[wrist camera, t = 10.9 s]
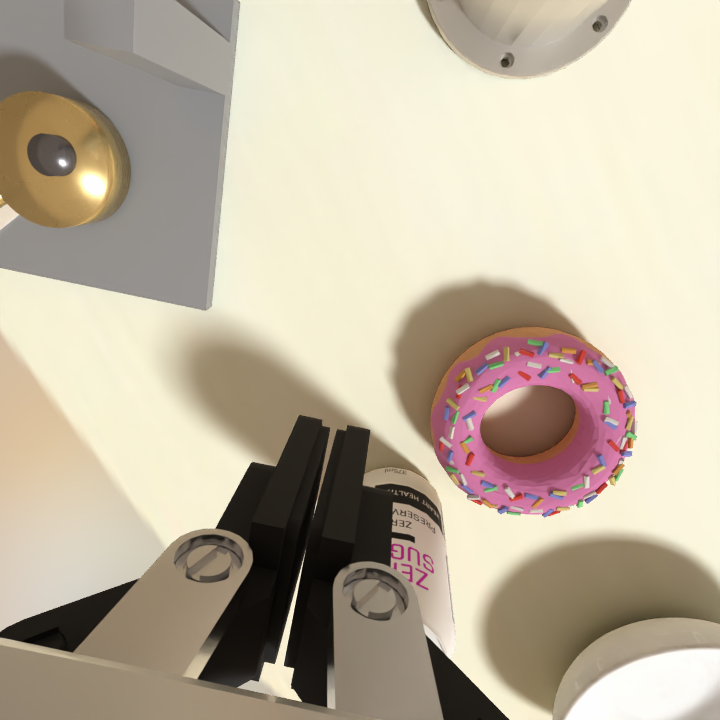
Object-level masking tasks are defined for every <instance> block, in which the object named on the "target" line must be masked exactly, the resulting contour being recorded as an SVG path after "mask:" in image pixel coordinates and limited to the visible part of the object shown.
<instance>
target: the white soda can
mask: <svg viewBox="0 0 720 720" xmlns="http://www.w3.org/2000/svg"><path fill="white" fill-rule="evenodd" d="M363 485H364V486H369V487H374V488H378V489H383V490H388V491H392V492H393V517H392V545H391V568H393V569H395V570H397V571H398V572H399V573H401V574H402V575H403V576H405V577H406V578H407V580H408V581H409V582H410V583H411V585H412V586H413V588H414V590H415V593H416V595H417V598H418V603H419V607H420V612H421V617H422V621H423V626H424V631H425V634H426V635H427V636H428V637H429V638H430V639H431V640H432V641H433V642H434V643H435V644H436V645H437V646H438V647H439V648H440V650H441V651H442V652H443V653H444V654H445V655H446V656H447V657H448V658H449V659H450V658H451V656H452V654H453V652H454V651H455V632H456V631H455V622H454V613H453V604H452V595H451V586H450V577H449V568H448V559H447V550H446V541H445V532H444V524H443V515H442V506H441V502H440V499H439V497H438V495H437V492H436V490H435V489H434V488H433V487H432V485H431V484H430V483H429V482H428V481H427V480H426V479H425V478H424V477H422V476H420V475H418V474H416V473H414V472H412V471H410V470H406V469H400V468H394V467H388V468H381V469H374V470H372V471H370V472H368V473H366V474H364V479H363Z"/></svg>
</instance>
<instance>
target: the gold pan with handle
mask: <svg viewBox="0 0 720 720" xmlns="http://www.w3.org/2000/svg"><path fill="white" fill-rule="evenodd" d="M130 182H131V164H130V158H129V154H128V151H127V148H126V145H125V143H124V141H123V139H122V137H121V135H120V133H119V132H118V130H117V129H116V127H115V126H114V125H113V124H112V122H111V121H110V120H109V119H108V118H107V117H106V116H105V115H104V114H102V113H101V112H100V111H99V110H97V109H96V108H94V107H92V106H91V105H89V104H87V103H84V102H81V101H79V100H75V99H70V98H66V97H62V96H58V95H54V94H49V93H45V92H41V91H24V92H20V93H16V94H14V95H11V96H9V97H8V98H6V99H5V100H3V101H2V102H1V103H0V207H2V206H4V205H6V204H8V205H9V206H10V207H11V208H12V209H13V210H14V211H15V212H17V213H18V214H19V215H21V216H22V217H24V218H25V219H27V220H29V221H31V222H33V223H36V224H38V225H41V226H46V227H51V228H65V227H72V226H79V225H86V224H92V223H97V222H100V221H103V220H105V219H107V218H109V217H110V216H111V215H113V214H114V213H115V212H116V211H117V210H118V209H119V208H120V207H121V205H122V204H123V202H124V200H125V198H126V196H127V194H128V191H129V187H130Z"/></svg>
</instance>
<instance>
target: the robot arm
mask: <svg viewBox="0 0 720 720" xmlns="http://www.w3.org/2000/svg"><path fill="white" fill-rule="evenodd" d="M630 2H631V0H440V1H439V0H427V3H428V6H429V9H430V12H431V16H432V19H433V21H434V22H435V24H436V26H437V28H438V30H439V32H440V34H441V36H442V37H443V39H444V40H445V41H446V42H447V44H448V45H449V46H450V47H451V49H452V50H453V51H454V52H455V53H456V54H457V55H458V56H459V57H461V58H462V59H463V60H464V61H466V62H467V63H468V64H469V65H471V66H473V67H475V68H477V69H479V70H481V71H483V72H485V73H487V74H490V75H494V76H498V77H502V78H507V79H529V78H534V77H540V76H545V75H548V74H550V73H553V72H556V71H558V70H561V69H564V68H565V67H567V66H569V65H570V64H572V63H574V62H576V61H577V60H579V59H580V58H582V57H583V56H585V55H586V54H587V53H588V52H590V51H591V50H592V49H594V48H595V47H596V46H597V45H598V44H599V43H600V42H601V41H602V40H603V39H604V38H605V37H606V36H607V35H608V34H609V33H610V32H611V31H612V30H613V28H614V27H615V26H616V24H617V23H618V21H619V20H620V19H621V17H622V16H623V14H624V13H625V11H626V10H627V8H628V6H629V4H630ZM593 23H596V24H598V26H599V30H598V31H594V29H593V27H592V25H593ZM502 59H507V60H508V66H507V67H503V66H502V65H501V60H502ZM329 432H330V428H329V427H324V426H322V420H321V419H316V418H311V417H306V416H302V415H299V417H298V419H297V421H296V424H295V426H294V428H293V430H292V433H291V435H290V437H289V439H288V442H287V444H286V446H285V448H284V450H283V453H282V455H281V457H280V459H279V462H278V464H277V466H276V467H274V466H270V465H265V464H260V463H255V462H252V463H251V464H250V466H249V468H248V469H247V471H246V473H245V475H244V477H243V479H242V480H241V482H240V484H239V486H238V488H237V490H236V492H235V493H234V495H233V497H232V499H231V501H230V503H229V504H228V506H227V508H226V510H225V512H224V514H223V516H222V517H221V519H220V521H219V523H218V525H217V527H216V528H215V529H201V530H196V531H191V532H189V533H187V534H185V535H183V536H180V537H179V538H178V539H177V540H175V541H174V542H173V543H172V544H171V545H170V546H169V547H168V548H167V549H166V550H165V551H164V552H163V553H162V555H161V556H160V557H159V558H158V559H157V560H156V561H155V562H154V563H153V565H152V566H151V567H150V568H149V569H148V570H147V571H146V572H145V573H144V575H143V576H142V577H141V578H139V579H136V580H134V581H131V582H128V583H125V584H122V585H120V586H117V587H114V588H111V589H108V590H105V591H103V592H100V593H97V594H94V595H91V596H89V597H86V598H83V599H80V600H78V601H75V602H72V603H69V604H66V605H64V606H60V607H58V608H55V609H52V610H49V611H46V612H44V613H41V614H38V615H36V616H32V617H30V618H27V619H24V620H22V621H20V622H17V623H15V624H13V625H11V626H9V627H7V628H5V629H4V630H2V631H1V632H0V720H509V719H508V718H507V717H506V716H505V715H504V714H503V713H502V712H501V711H500V710H499V709H498V708H497V707H496V706H495V705H494V704H493V703H492V702H491V701H490V700H489V699H488V698H487V697H486V696H485V694H484V693H483V692H482V691H481V690H480V689H479V688H478V687H477V686H476V685H475V684H474V683H473V682H472V681H471V680H470V679H469V678H468V677H467V676H466V675H465V674H464V673H463V672H462V671H461V670H460V669H459V668H458V667H457V666H456V665H455V664H454V663H453V662H452V661H451V660H450V659H449V658H448V657H447V656H446V655H445V654H444V653H443V652H442V651H441V650H440V648H439V647H438V646H437V645H436V644H435V643H434V642H433V641H432V640H431V639H430V638H429V637H428V636H427V635H426V634H425V631H424V626H423V621H422V617H421V612H420V607H419V603H418V598H417V595H416V593H415V590H414V588H413V586H412V585H411V583H410V582H409V581H408V580H407V578H406V577H405V576H403V575H402V574H401V573H399V572H398V571H397V570H395V569H393V568H391V545H392V517H393V492H392V491H388V490H383V489H378V488H374V487H369V486H364V485H363V479H364V472H365V464H366V457H367V450H368V443H369V435H370V430H368V429H363V428H359V427H354V426H349V425H348V426H347V430H346V431H343V430H338V429H337V432H336V436H335V439H334V443H333V447H332V450H331V454H330V458H329V462H328V465H327V469H326V473H325V476H324V480H323V484H322V488H321V491H320V495H319V499H318V502H317V506H316V510H315V505H316V500H317V495H318V490H319V484H320V479H321V474H322V469H323V463H324V458H325V453H326V448H327V443H328V437H329ZM314 511H315V513H314ZM313 516H314V517H313ZM306 546H307V547H306ZM305 550H306V552H305ZM304 554H305V557H304ZM303 558H304V562H303V567H302V573H301V578H300V583H299V588H298V594H297V599H296V604H295V609H294V615H293V620H292V625H291V630H290V636H289V641H288V646H287V651H286V657H285V662H284V666H286V667H291V668H294V673H293V678H292V683H291V689H294V690H295V692H296V693H297V695H298V696H299V698H300V699H301V700H302V702H299V701H295V700H290V699H286V698H281V697H277V696H271V695H267V694H263V693H258V692H254V691H249V690H244V689H239V688H237V687H239V686H241V685H242V684H244V683H246V682H248V681H250V680H254V681H258V682H259V678H260V675H261V672H262V668H263V665H264V662H268V663H272V664H275V662H276V658H277V655H278V651H279V647H280V643H281V640H282V636H283V632H284V629H285V625H286V621H287V617H288V614H289V610H290V606H291V602H292V599H293V595H294V591H295V587H296V584H297V580H298V576H299V573H300V569H301V565H302V561H303Z"/></svg>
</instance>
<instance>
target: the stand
mask: <svg viewBox="0 0 720 720" xmlns="http://www.w3.org/2000/svg"><path fill="white" fill-rule="evenodd" d="M239 9H240V2H239V1H238V0H0V103H1V102H2V101H3V100H5V99H6V98H8V97H9V96H11V95H14V94H16V93H20V92H24V91H41V92H45V93H49V94H54V95H58V96H62V97H66V98H70V99H75V100H79V101H81V102H84V103H87V104H89V105H91V106H92V107H94V108H96V109H97V110H99V111H100V112H101V113H102V114H104V115H105V116H106V117H107V118H108V119H109V120H110V121H111V122H112V124H113V125H114V126H115V127H116V129H117V130H118V132H119V133H120V135H121V137H122V139H123V141H124V143H125V145H126V148H127V151H128V154H129V158H130V164H131V182H130V187H129V191H128V194H127V196H126V198H125V200H124V202H123V204H122V205H121V207H120V208H119V209H118V210H117V211H116V212H115V213H114V214H113V215H111V216H110V217H109V218H107V219H105V220H103V221H100V222H97V223H92V224H86V225H79V226H72V227H65V228H51V227H46V226H41V225H38V224H36V223H33V222H31V221H29V220H27V219H25V218H24V217H22V216H21V215H19V214H18V213H17V212H15V211H14V210H13V209H12V208H11V207H10V206H9V205H8V204H6V205H4V206H2V207H0V268H4V269H8V270H13V271H18V272H23V273H28V274H32V275H37V276H42V277H47V278H52V279H56V280H61V281H66V282H71V283H76V284H81V285H85V286H90V287H95V288H100V289H105V290H109V291H114V292H119V293H124V294H129V295H134V296H138V297H143V298H148V299H153V300H158V301H162V302H167V303H172V304H177V305H182V306H186V307H191V308H196V309H201V310H207V309H209V308H210V307H212V297H213V286H214V276H215V265H216V254H217V244H218V233H219V222H220V212H221V201H222V190H223V180H224V169H225V158H226V148H227V137H228V126H229V115H230V105H231V94H232V83H233V73H234V62H235V51H236V41H237V30H238V19H239Z"/></svg>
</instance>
